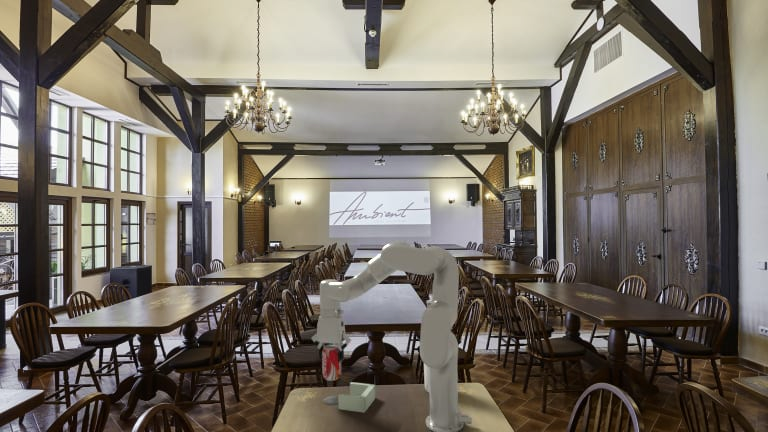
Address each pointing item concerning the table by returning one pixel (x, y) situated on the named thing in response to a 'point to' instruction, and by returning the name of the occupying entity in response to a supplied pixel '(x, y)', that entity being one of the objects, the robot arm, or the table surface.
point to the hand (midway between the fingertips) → (331, 359)
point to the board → (331, 400)
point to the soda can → (331, 362)
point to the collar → (357, 397)
